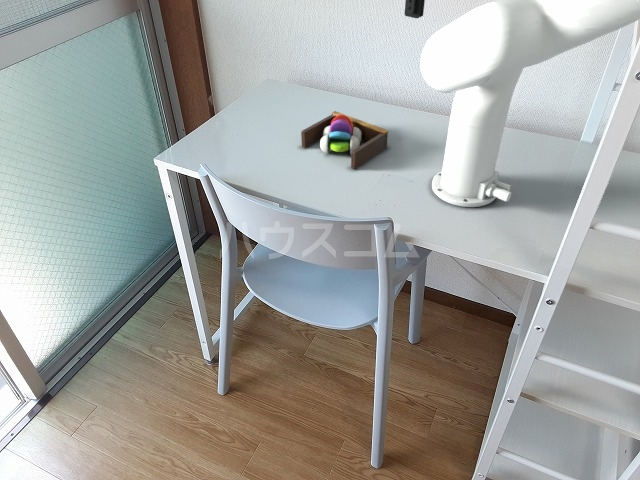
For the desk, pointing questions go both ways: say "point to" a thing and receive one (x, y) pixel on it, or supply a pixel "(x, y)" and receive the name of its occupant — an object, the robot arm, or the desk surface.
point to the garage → (370, 135)
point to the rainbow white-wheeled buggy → (340, 136)
